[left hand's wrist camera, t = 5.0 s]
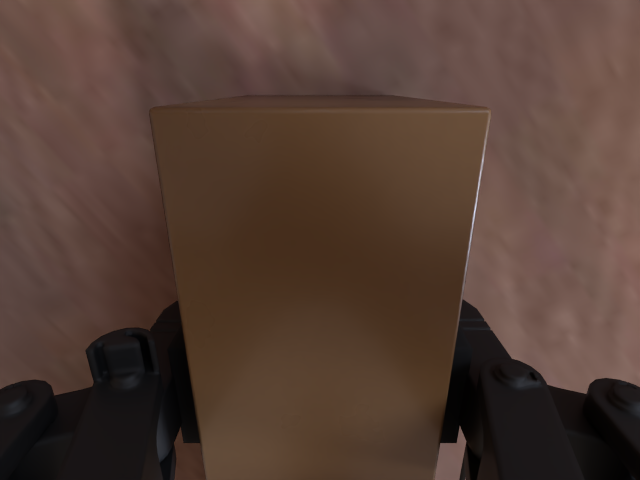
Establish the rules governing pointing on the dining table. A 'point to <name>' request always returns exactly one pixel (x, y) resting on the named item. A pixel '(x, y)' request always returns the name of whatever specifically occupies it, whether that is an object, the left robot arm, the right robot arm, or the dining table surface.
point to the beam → (320, 276)
